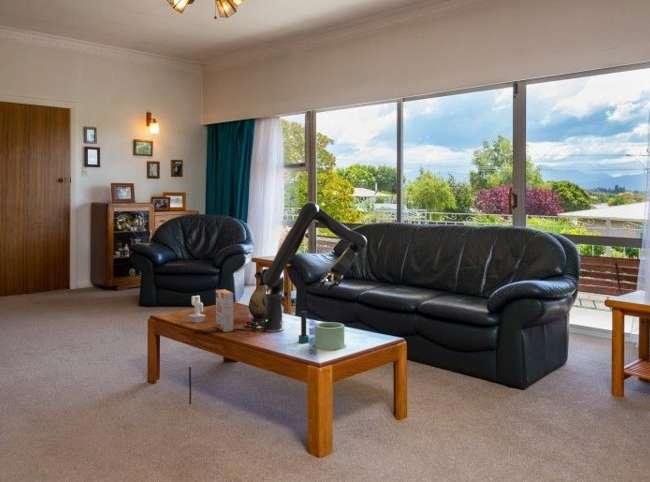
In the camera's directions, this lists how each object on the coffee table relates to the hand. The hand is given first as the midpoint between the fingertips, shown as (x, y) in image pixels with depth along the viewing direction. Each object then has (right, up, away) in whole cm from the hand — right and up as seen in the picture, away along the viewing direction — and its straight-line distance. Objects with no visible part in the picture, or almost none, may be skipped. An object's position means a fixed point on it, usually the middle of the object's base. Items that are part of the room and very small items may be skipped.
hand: (323, 290), depth 284 cm
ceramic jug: (-36, -25, +49) cm, 66 cm away
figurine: (-74, -25, +41) cm, 88 cm away
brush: (-10, -25, -7) cm, 27 cm away
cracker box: (-54, -25, +20) cm, 63 cm away
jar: (+3, -25, -15) cm, 29 cm away
